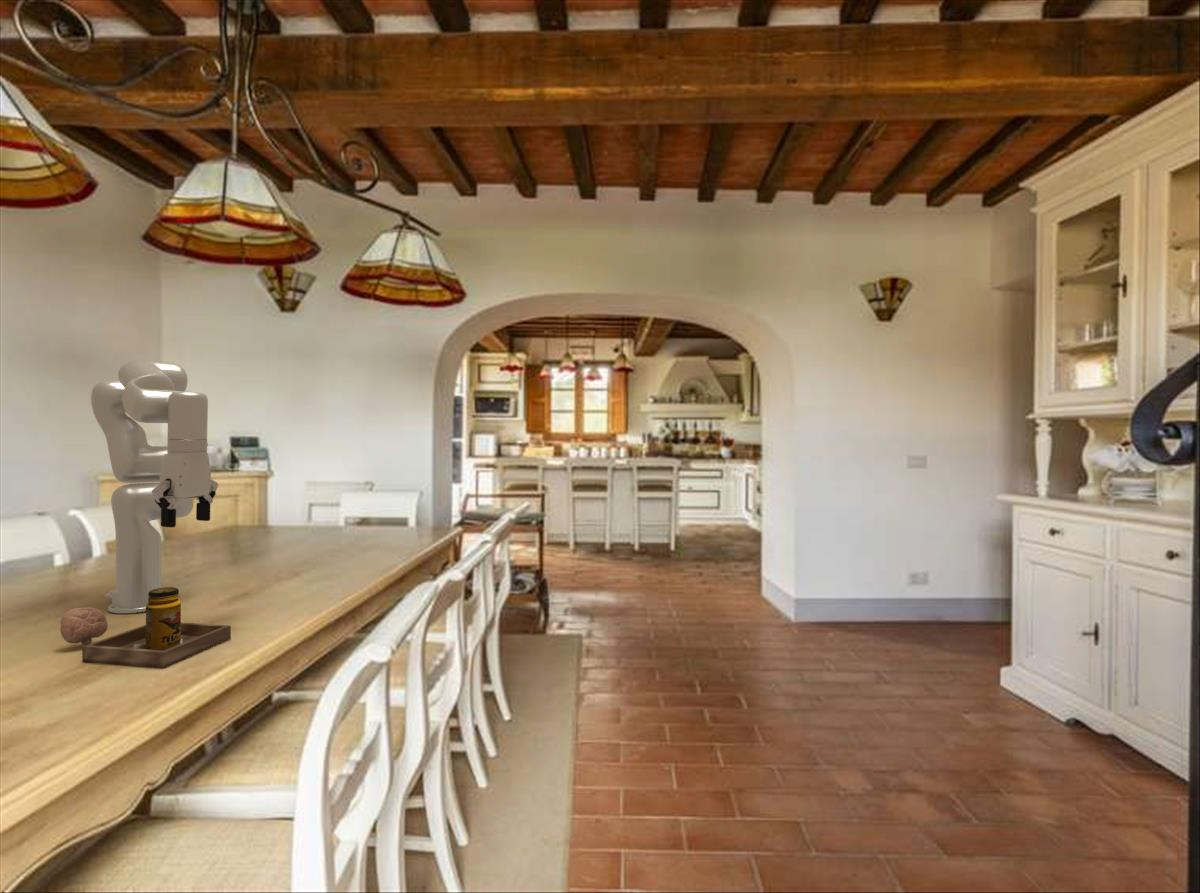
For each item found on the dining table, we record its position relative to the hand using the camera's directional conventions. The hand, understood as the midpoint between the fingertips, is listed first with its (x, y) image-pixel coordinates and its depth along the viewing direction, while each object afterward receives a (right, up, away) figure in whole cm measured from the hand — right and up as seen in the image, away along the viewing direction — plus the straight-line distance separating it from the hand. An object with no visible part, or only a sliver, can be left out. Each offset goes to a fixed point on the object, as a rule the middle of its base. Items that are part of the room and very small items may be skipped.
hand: (186, 523), depth 147 cm
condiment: (+2, -25, -12) cm, 27 cm away
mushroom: (-15, -25, -10) cm, 31 cm away
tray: (+2, -25, -11) cm, 27 cm away
